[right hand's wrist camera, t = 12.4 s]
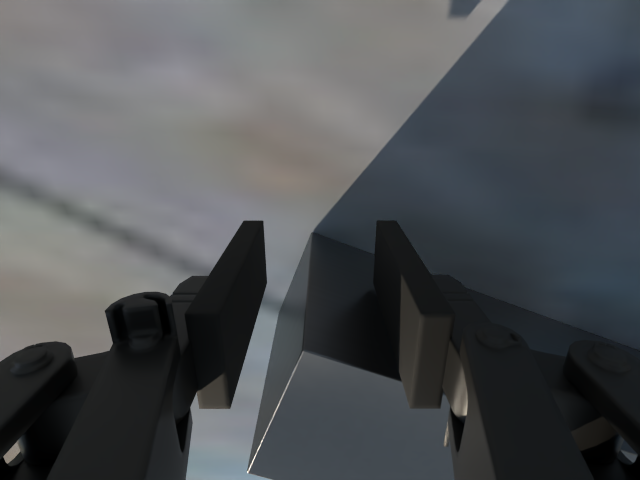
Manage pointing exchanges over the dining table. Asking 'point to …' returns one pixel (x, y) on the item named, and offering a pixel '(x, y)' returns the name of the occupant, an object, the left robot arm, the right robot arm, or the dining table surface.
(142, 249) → the dining table surface
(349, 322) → the bar
